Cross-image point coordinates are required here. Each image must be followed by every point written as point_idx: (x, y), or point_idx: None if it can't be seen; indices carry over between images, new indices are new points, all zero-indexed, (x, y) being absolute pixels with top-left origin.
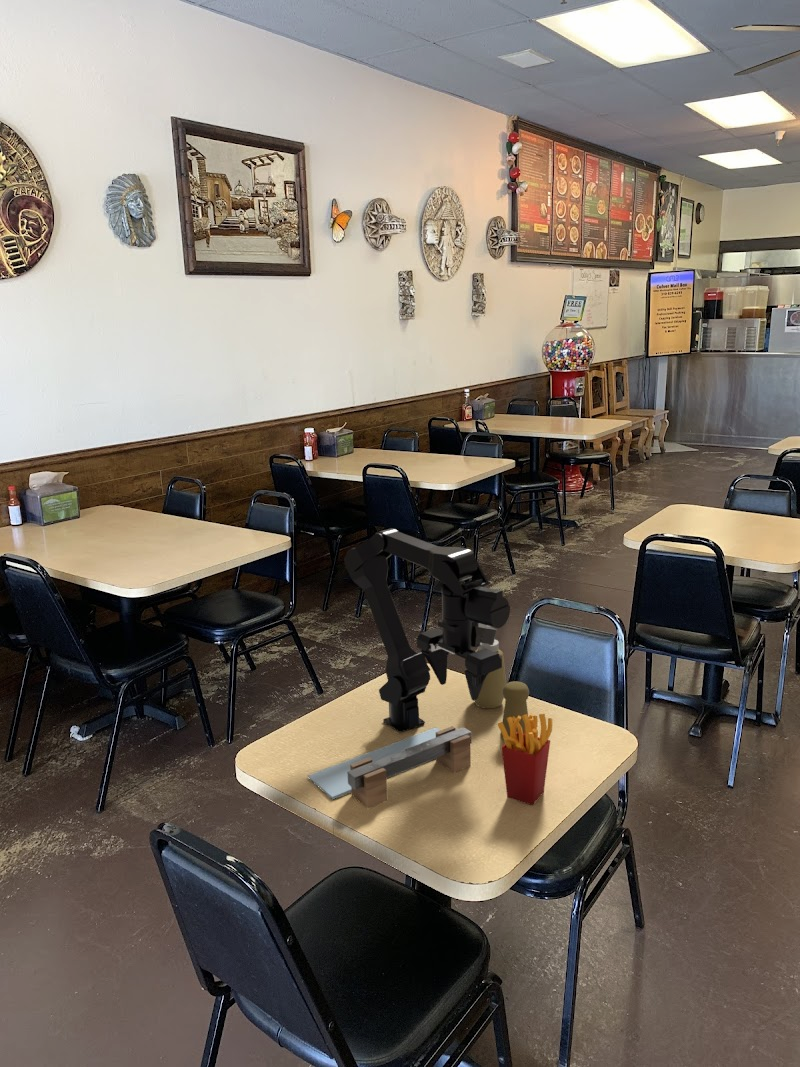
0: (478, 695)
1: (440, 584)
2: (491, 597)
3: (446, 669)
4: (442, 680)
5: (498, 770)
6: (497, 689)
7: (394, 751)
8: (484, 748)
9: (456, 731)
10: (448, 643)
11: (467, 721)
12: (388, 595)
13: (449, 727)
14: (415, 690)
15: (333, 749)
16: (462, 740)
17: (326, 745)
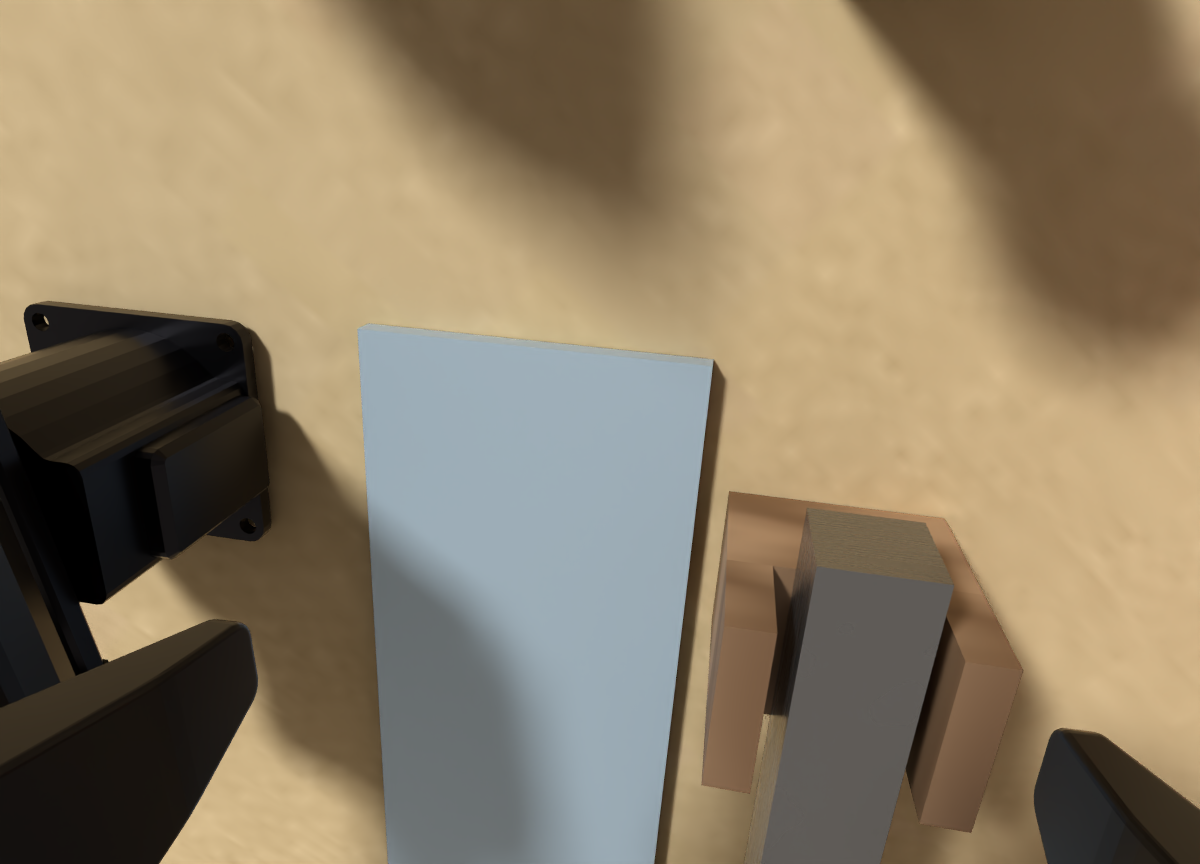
0: (1166, 791)
1: None
2: None
3: (22, 775)
4: (211, 731)
5: (1174, 427)
6: None
7: (466, 730)
8: (854, 252)
9: (828, 665)
10: None
11: (399, 2)
12: None
13: (727, 661)
14: (41, 629)
15: (235, 853)
16: (996, 748)
17: (181, 847)
